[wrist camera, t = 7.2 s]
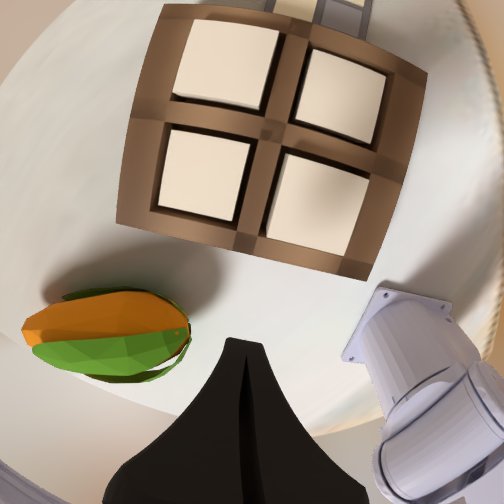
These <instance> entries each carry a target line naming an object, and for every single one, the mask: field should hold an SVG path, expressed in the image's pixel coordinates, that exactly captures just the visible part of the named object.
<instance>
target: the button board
mask: <svg viewBox="0 0 504 504" xmlns="http://www.w3.org/2000/svg"><path fill="white" fill-rule="evenodd" d="M195 19H198V20H211V21H221V22H230V23H237V24H244V25H250V26H256V27H261V28H267V29H271V30H276V31H279V35H278V41H277V46H276V49H275V53H274V56H273V60H272V64H271V67H270V71H269V74H268V78H267V82H266V86H265V89H264V93H263V97H262V101H261V104H260V108H259V111H257V110H253V109H248V108H243V107H239V106H233V105H228V104H223V103H217V102H211V101H205V100H198V99H191V98H183V97H181V96H179V95H177V94H175V93H173V92H172V91H173V87H174V83H175V80H176V76H177V72H178V69H179V66H180V62H181V59H182V55H183V52H184V49H185V46H186V43H187V40H188V37H189V34H190V31H191V28H192V25H193V22H194V20H195ZM313 49H315V50H318V51H321V52H324V53H327V54H330V55H333V56H336V57H339V58H342V59H345V60H347V61H350V62H353V63H355V64H358V65H360V66H363V67H365V68H367V69H370V70H372V71H374V72H377V73H379V74H381V75H383V76H385V77H386V79H385V84H384V89H383V94H382V98H381V103H380V107H379V111H378V116H377V120H376V124H375V128H374V132H373V136H372V140H371V143H370V144H363V143H357V142H354V141H351V140H348V139H345V138H343V137H340V136H337V135H334V134H331V133H328V132H325V131H322V130H319V129H315V128H312V127H309V126H305V125H302V124H298V123H295V122H292V118H293V114H294V110H295V107H296V103H297V99H298V95H299V91H300V87H301V84H302V80H303V76H304V72H305V68H306V64H307V60H308V58H309V56H310V54H311V53H312V51H313ZM427 76H428V73H427V72H425V71H423V70H421V69H420V68H418V67H416V66H414V65H413V64H411V63H409V62H407V61H405V60H403V59H401V58H399V57H397V56H395V55H393V54H391V53H389V52H387V51H385V50H383V49H381V48H378V47H376V46H374V45H372V44H369V43H367V42H365V41H362V40H360V39H357V38H355V37H352V36H349V35H347V34H344V33H341V32H338V31H335V30H333V29H330V28H326V27H323V26H320V25H317V24H313V23H310V22H306V21H303V20H299V19H295V18H291V17H287V16H282V15H278V14H273V13H268V12H263V11H257V10H251V9H244V8H237V7H228V6H218V5H204V4H164V6H163V8H162V11H161V13H160V16H159V18H158V21H157V24H156V26H155V29H154V32H153V35H152V38H151V41H150V44H149V47H148V50H147V53H146V56H145V59H144V63H143V66H142V70H141V73H140V77H139V81H138V84H137V88H136V92H135V96H134V101H133V105H132V110H131V114H130V119H129V124H128V129H127V134H126V140H125V146H124V152H123V159H122V166H121V173H120V181H119V190H118V200H117V212H116V223H117V224H121V225H126V226H130V227H134V228H138V229H142V230H147V231H151V232H155V233H159V234H164V235H168V236H172V237H176V238H181V239H185V240H189V241H193V242H198V243H202V244H206V245H210V246H215V247H219V248H223V249H227V250H232V251H236V252H240V253H244V254H249V255H253V256H257V257H262V258H266V259H270V260H274V261H279V262H283V263H287V264H292V265H296V266H300V267H305V268H309V269H313V270H318V271H322V272H326V273H331V274H335V275H339V276H344V277H348V278H352V279H357V280H361V281H365V282H366V281H367V279H368V277H369V275H370V272H371V270H372V268H373V265H374V263H375V260H376V258H377V255H378V253H379V250H380V248H381V245H382V243H383V240H384V237H385V235H386V232H387V229H388V227H389V224H390V221H391V218H392V215H393V213H394V210H395V207H396V204H397V201H398V198H399V195H400V191H401V188H402V185H403V182H404V178H405V175H406V172H407V168H408V164H409V161H410V157H411V153H412V150H413V146H414V142H415V137H416V133H417V129H418V124H419V120H420V115H421V110H422V105H423V100H424V94H425V88H426V82H427ZM171 130H178V131H185V132H192V133H197V134H203V135H209V136H214V137H219V138H224V139H229V140H234V141H238V142H243V143H247V144H251V147H250V151H249V155H248V159H247V163H246V167H245V171H244V175H243V180H242V184H241V188H240V192H239V197H238V201H237V205H236V209H235V213H234V216H233V219H232V221H228V220H224V219H220V218H215V217H211V216H207V215H202V214H198V213H193V212H189V211H184V210H180V209H175V208H170V207H166V206H161V205H158V203H159V196H160V190H161V183H162V177H163V171H164V165H165V160H166V155H167V149H168V144H169V139H170V134H171ZM285 153H287V154H290V155H294V156H297V157H301V158H304V159H308V160H311V161H315V162H318V163H321V164H325V165H328V166H331V167H334V168H337V169H340V170H343V171H346V172H349V173H352V174H355V175H358V176H360V177H363V178H365V179H368V180H369V183H368V187H367V190H366V193H365V196H364V199H363V202H362V205H361V208H360V212H359V214H358V217H357V220H356V223H355V226H354V229H353V232H352V235H351V237H350V240H349V243H348V246H347V248H346V251H345V254H344V256H341V255H337V254H333V253H329V252H325V251H321V250H317V249H313V248H309V247H305V246H301V245H297V244H293V243H289V242H284V241H280V240H276V239H272V238H268V237H267V235H266V224H267V220H268V217H269V213H270V209H271V205H272V202H273V198H274V194H275V191H276V187H277V183H278V179H279V175H280V172H281V168H282V164H283V160H284V157H285Z"/></svg>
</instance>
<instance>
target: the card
mask: <svg viewBox="0 0 504 504" xmlns="http://www.w3.org/2000/svg"><path fill="white" fill-rule="evenodd" d="M371 4H372V0H267V3H266V6H265V9H264V12H268V13H273V14H278V15H282V16H287V17H291V18H295V19H299V20H303V21H306V22H310V23H313V24H317V25H320V26H323V27H326V28H330V29H333V30H335V31H338V32H341V33H344V34H347V35H349V36H352V37H355V38H357V39H360V40H362V41H365V38H366V33H367V27H368V22H369V16H370V10H371Z"/></svg>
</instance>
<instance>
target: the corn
mask: <svg viewBox="0 0 504 504" xmlns="http://www.w3.org/2000/svg"><path fill="white" fill-rule="evenodd" d="M62 298H63V299H64V300H66V302H60V303H55V304H52V305H51V306H49V307H47V308H45V309H43V310H41V311H40V312H38V313H36V314H34V315H32V316H31V317H29V318H27V319H26V321H25V323H24V325H23V327H22V329H21V331H22V333H23V336H24V338H25V340H26V342H27V344H28V345H29V346H31V347H33V348H32V351H33V354H34V355H36V356H37V357H38V358H40V359H42V360H44V361H45V362H47V363H49V364H50V365H52V366H54V367H56V368H59V369H63V370H68V371H72V372H77V373H82V374H85V375H86V376H89V377H91V378H93V379H97V380H101V381H104V382H108V383H142V382H150V381H152V380H154V379H157V378H159V377H161V376H164V375H165V374H166V373H167V372H169V371H170V370H171V369H172V368H173V367H175V366H176V365H177V364H178V363H179V362H180V361H182V359H183V357H184V355H185V353H186V351H187V349H188V347H189V345H190V343H191V341H192V338H191V336H190V335H191V324H190V323H188V322H189V319H188V317H187V314H186V313H185V312H184V311H183V309H182V308H181V307H180V306H178V305H177V304H176V303H175V302H173V301H171V300H169V299H168V298H166V297H165V296H162V295H160V294H157V293H154V292H151V291H148V290H145V289H139V288H132V287H112V288H98V289H89V290H84V291H80V292H76V293H71V294H68V295H66V296H63V297H62ZM189 339H190V340H189ZM186 344H187V345H186ZM185 345H186V347H185ZM184 347H185V348H184ZM183 348H184V350H183ZM182 350H183V351H182ZM181 351H182V353H181ZM180 353H181V354H180ZM179 354H180V356H179V357H178V359H177V360H176V362H175V363H174V364H172V365H171V366H168V367H165V368H163V369H160V370H152V371H146V370H149V369H152V368H153V367H156V366H158V365H160V364H162V363H164V362H166V361H168V360H170V359H171V358H173V357H175V356H177V355H179Z"/></svg>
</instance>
